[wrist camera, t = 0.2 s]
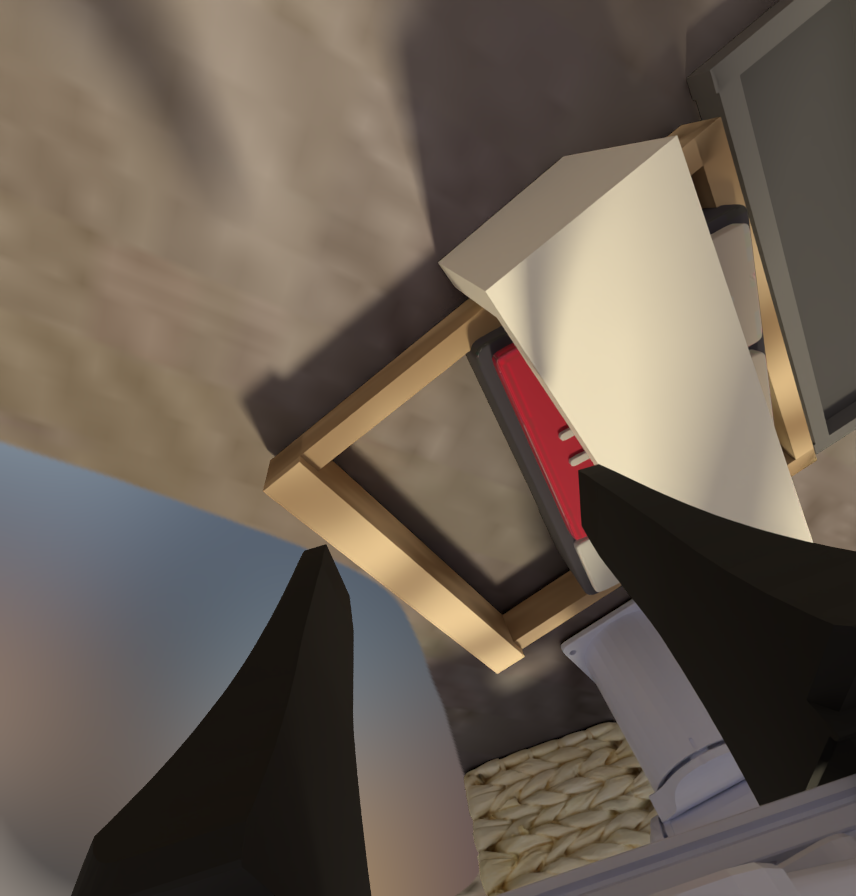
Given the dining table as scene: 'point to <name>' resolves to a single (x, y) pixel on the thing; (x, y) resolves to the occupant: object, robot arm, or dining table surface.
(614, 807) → the storage basket
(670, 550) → the robot arm
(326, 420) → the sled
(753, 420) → the tunnel
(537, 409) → the calculator
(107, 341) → the dining table surface
